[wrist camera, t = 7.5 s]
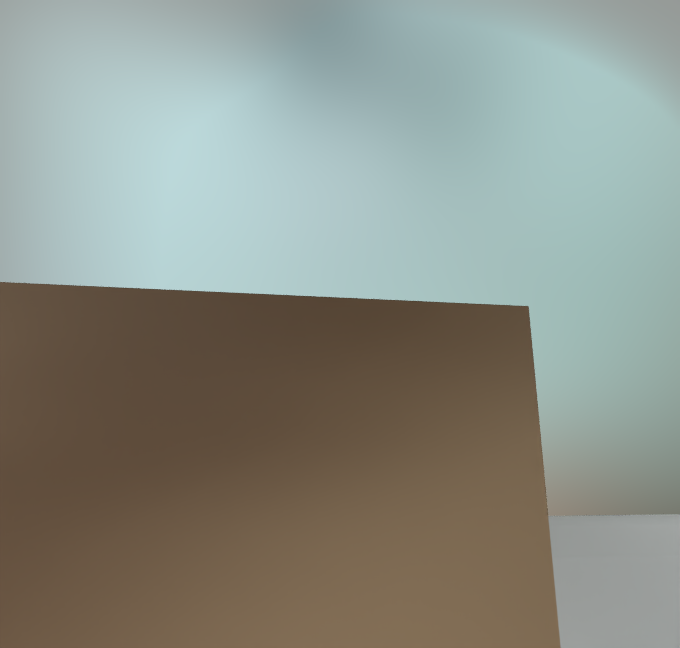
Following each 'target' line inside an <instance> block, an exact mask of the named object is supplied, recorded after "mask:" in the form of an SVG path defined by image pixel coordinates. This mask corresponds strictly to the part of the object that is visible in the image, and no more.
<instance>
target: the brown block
mask: <svg viewBox="0 0 680 648" xmlns="http://www.w3.org/2000/svg"><path fill="white" fill-rule="evenodd" d="M0 648H561V646H560V636H559V625H558V614H557V604H556V593H555V583H554V572H553V561H552V551H551V540H550V530H549V519H548V508H547V498H546V487H545V477H544V466H543V455H542V446H541V434H540V425H539V414H538V403H537V392H536V381H535V371H534V360H533V349H532V340H531V328H530V318H529V307H528V306H510V305H490V304H468V303H446V302H445V303H444V302H423V301H402V300H379V299H358V298H336V297H335V298H334V297H315V296H313V297H312V296H292V295H271V294H270V295H269V294H249V293H226V292H204V291H182V290H161V289H140V288H115V287H96V286H74V285H73V286H72V285H50V284H30V283H28V284H27V283H8V282H7V283H6V282H0Z"/></svg>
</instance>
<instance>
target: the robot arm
mask: <svg viewBox="0 0 680 648" xmlns="http://www.w3.org/2000/svg"><path fill="white" fill-rule="evenodd" d="M548 519H549V530H550V540H551V551H552V561H553V572H554V583H555V593H556V604H557V614H558V625H559V636H560V646H561V648H680V514H668V515H596V516H595V515H594V516H593V515H591V516H590V515H589V516H548Z"/></svg>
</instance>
